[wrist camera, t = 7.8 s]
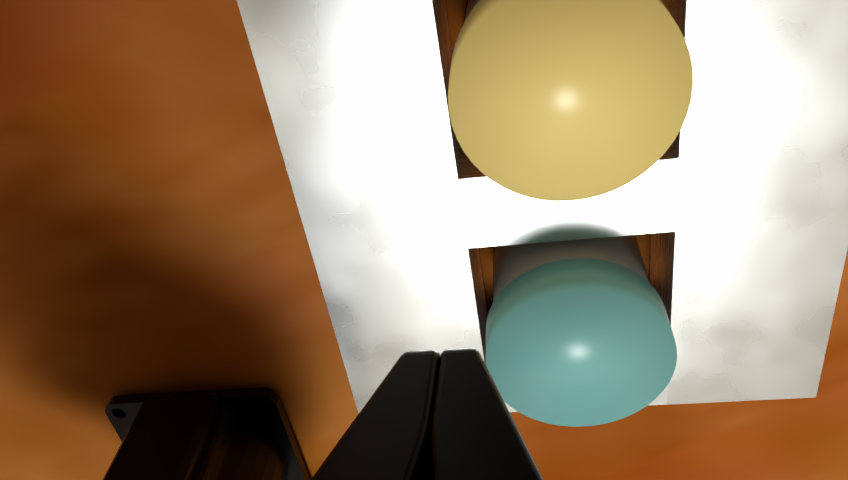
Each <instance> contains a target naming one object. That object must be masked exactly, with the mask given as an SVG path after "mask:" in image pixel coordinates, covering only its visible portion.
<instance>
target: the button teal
mask: <svg viewBox="0 0 848 480" xmlns="http://www.w3.org/2000/svg"><path fill="white" fill-rule="evenodd" d="M676 362H677V347H676V343H675V338H674V335H673V332H672V329H671V325H670V322H669V319H668V315H667V312H666V309H665V306H664V304H663V301H662V299H661V297H660V296H659V294H658V292H657V291H656V290H655V288H654V287H653V286H652V285H651V284H650V283H649V280H648V277H647V273H646V270H645V266H644V263H643V260H642V256H641V253H640V249H639V246H638V242H637V239H636V237H635V235H628V236H616V237H603V238H591V239H579V240H567V241H554V242H542V243H530V244H518V245H505V246H496V247H495V250H494V256H493V304H492V306H491V308H490V310H489V313H488V317H487V322H486V366H487V368H488V370H489V372H490V374H491V376H492V378H493V380H494V382H495V384H496V386H497V388H498V390H499V392H500V394H501V396H502V398H503V400H504V401H505V402H506V403H507V404H508V405H509V406H510V407H512V408H513V409H515V410H516V411H518V412H520V413H522V414H524V415H525V416H527V417H530V418H532V419H535V420H538V421H541V422H545V423H548V424H554V425H560V426H593V425H600V424H605V423H609V422H613V421H616V420H619V419H622V418H625V417H627V416H629V415H632V414H634V413H636V412H638V411H639V410H641V409H642V408H644V407H646V406H647V405H648V404H650V403H651V402H652V401H654V400H655V399H656V398H657V397H658V396H659V395H660V394H661V393H662V392H663V390H664V389H665V388H666V386H667V385H668V384H669V382H670V380H671V378H672V376H673V373H674V371H675V368H676Z"/></svg>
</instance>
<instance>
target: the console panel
mask: <svg viewBox="0 0 848 480" xmlns="http://www.w3.org/2000/svg"><path fill="white" fill-rule="evenodd" d="M661 1H662V2H663V4H664V5H665V7H666V8H667V10H668V11H669V13H670V14H671V16H672V17H673V19H674V21H675V22H676V24H677V25H678V27H679V29H680V31H681V33H682V35H683V37H684V39H685V41H686V44H687V47H688V50H689V53H690V56H691V62H692V69H693V89H692V97H691V102H690V106H689V109H688V113H687V116H686V118H685V121H684V123H683V125H682V128H681V130H680V131H679V133H678V135H677V137H676V138H675V140H674V142H673V143H672V144H671V146H670V147H669V148H668V150H667V151H666V152H665V154H664V155H663V156H662V157H661V158H660V159H659V160H658V161H657V162H656V163H655V164H654V165H653V166H652V167H650V168H649V169H648V170H647V171H646V172H644V173H643V174H642V175H640V176H639V177H637V178H636V179H634V180H633V181H631V182H630V183H628V184H626V185H624V186H622V187H620V188H618V189H616V190H613V191H610V192H608V193H605V194H602V195H599V196H595V197H591V198H587V199H581V200H574V201H549V200H541V199H535V198H530V197H527V196H524V195H520V194H517V193H515V192H512V191H510V190H508V189H506V188H504V187H502V186H500V185H499V184H497V183H495V182H494V181H492V180H491V179H489V178H488V177H487V176H486V175H484V174H483V173H482V172H481V171H480V170H479V169H478V168H477V167H476V166H475V165H474V164H473V163H472V162H471V161H470V159H469V158H468V157H467V155H466V154H465V153H464V151H463V149H462V148H461V146H460V144H459V142H458V140H457V138H456V135H455V133H454V130H453V127H452V124H451V119H450V115H449V107H448V88H449V77H450V69H451V60H452V55H453V54H452V47H451V39H450V32H449V24H448V17H447V10H446V2H445V0H237V3H238V6H239V9H240V13H241V16H242V20H243V23H244V26H245V30H246V33H247V37H248V40H249V43H250V47H251V50H252V53H253V57H254V60H255V64H256V67H257V70H258V74H259V77H260V81H261V84H262V87H263V91H264V94H265V98H266V101H267V104H268V108H269V111H270V115H271V118H272V121H273V125H274V128H275V132H276V135H277V138H278V142H279V145H280V148H281V152H282V155H283V159H284V162H285V165H286V169H287V172H288V176H289V179H290V182H291V186H292V189H293V193H294V196H295V199H296V203H297V206H298V210H299V213H300V216H301V220H302V223H303V226H304V230H305V233H306V237H307V240H308V243H309V247H310V250H311V254H312V257H313V260H314V264H315V267H316V271H317V274H318V277H319V281H320V284H321V288H322V291H323V294H324V298H325V301H326V305H327V308H328V311H329V315H330V318H331V321H332V325H333V328H334V332H335V335H336V338H337V342H338V345H339V349H340V352H341V355H342V359H343V362H344V366H345V369H346V372H347V376H348V379H349V383H350V386H351V389H352V393H353V396H354V400H355V403H356V406H357V410H358V413H360V411H361V410H362V409H363V407H364V406H365V404H366V403H367V402H368V400H369V399H370V398H371V396H372V395H373V393H374V392H375V391H376V389H377V388H378V387H379V385H380V384H381V382H382V381H383V380H384V378H385V377H386V376H387V374H388V373H389V371H390V370H391V369H392V367H393V366H394V364H395V363H396V362H397V360H398V359H399V358H400V356H401V355H402V354H403V353H405V352H407V351H419V350H437V351H438V352H439V353H440V354H442V352H443V351H444V350H445V349H458V348H475V349H477V350H478V351H479V352H480V354H481V356H482V358H483V360H484V362H485V364H486V322H487V317H488V313H487V305H486V298H485V290H484V283H483V276H482V268H481V261H480V253H479V248H481V247H493V246H505V245H518V244H530V243H542V242H554V241H567V240H579V239H591V238H603V237H616V236H628V235H640V234H651V243H650V281H649V283H650V284H651V285H652V286H653V287H654V288H655V290H656V291H657V292H658V294H659V296H660V297H661V299H662V301H663V304H664V306H665V309H666V312H667V315H668V319H669V322H670V325H671V329H672V332H673V335H674V338H675V343H676V347H677V362H676V368H675V371H674V373H673V376H672V378H671V380H670V382H669V384H668V385H667V386H666V388H665V389H664V390H663V392H662V393H661V394H660V395H659V396H658V397H657V398H656V399H655V400H654V401H652V402H651V403H650V404H648V405H667V404H688V403H709V402H730V401H751V400H771V399H792V398H813V397H816V394H817V390H818V385H819V380H820V376H821V371H822V366H823V362H824V357H825V352H826V347H827V343H828V338H829V333H830V329H831V324H832V319H833V315H834V310H835V305H836V300H837V296H838V291H839V286H840V282H841V277H842V272H843V268H844V263H845V258H846V253H847V249H848V0H661ZM504 402H505V401H504ZM505 404H506V406H507V408H508V410H509V412H518V411H516V410H515V409H513V408H512V407H510V406H509V405H508V404H507V403H506V402H505Z"/></svg>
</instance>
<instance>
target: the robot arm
mask: <svg viewBox="0 0 848 480" xmlns="http://www.w3.org/2000/svg"><path fill="white" fill-rule="evenodd" d="M263 401H265V402H263ZM105 412H106V415H107V416H108V418H109V420H110V422H111V423H112V425H113V427H114V429H115V430H116V432H117V434H118V435H119V437H120V439H121V441H122V443H121V445H120V447H119V449H118V451H117V453H116V455H115V457H114V459H113V461H112V463H111V465H110V467H109V469H108V470H107V472H106V474H105V476H104V478H103V480H310V477H309V475H308V472H307V469H306V467H305V464H304V461H303V459H302V456H301V453H300V451H299V448H298V445H297V443H296V440H295V438H294V435H293V432H292V430H291V427H290V424H289V422H288V419H287V416H286V414H285V411H284V408H283V406H282V403H281V400H280V398H279V396H278V394H277V393H276V392H275V391H273V390H271V389H268V388H248V389H230V390H212V391H194V392H176V393H158V394H140V395H122V396H115V397H113V398H111V399H110V401H109V403H108V405H107V407H106V409H105ZM311 480H543V478H542V476H541V474H540V472H539V470H538V468H537V466H536V464H535V462H534V460H533V458H532V456H531V454H530V452H529V450H528V448H527V446H526V444H525V442H524V440H523V438H522V436H521V434H520V432H519V430H518V428H517V426H516V424H515V422H514V420H513V418H512V416H511V414H510V412H509V410H508V408H507V406H506V404H505V402H504V400H503V398H502V396H501V394H500V392H499V390H498V388H497V386H496V384H495V382H494V380H493V378H492V376H491V374H490V372H489V370H488V368H487V366H486V364H485V362H484V360H483V358H482V356H481V354H480V352H479V351H478V350H477V349H475V348H458V349H445V350H444V351H443V352H442V354H440V353H439V352H438V351H437V350H419V351H407V352H405V353H403V354H402V355H401V356H400V358H399V359H398V360H397V362H396V363H395V364H394V366H393V367H392V369H391V370H390V371H389V373H388V374H387V376H386V377H385V378H384V380H383V381H382V382H381V384H380V385H379V387H378V388H377V389H376V391H375V392H374V393H373V395H372V396H371V398H370V399H369V400H368V402H367V403H366V404H365V406H364V407H363V409H362V410H361V411H360V413H359V414H358V416H357V417H356V418H355V420H354V421H353V422H352V424H351V425H350V427H349V428H348V429H347V431H346V432H345V433H344V435H343V436H342V438H341V439H340V440H339V442H338V443H337V444H336V446H335V447H334V449H333V450H332V451H331V453H330V454H329V456H328V457H327V458H326V460H325V461H324V462H323V464H322V465H321V467H320V468H319V469H318V471H317V472H316V473H315V475H314V476H313V478H312V479H311Z"/></svg>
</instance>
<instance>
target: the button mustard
mask: <svg viewBox="0 0 848 480" xmlns="http://www.w3.org/2000/svg"><path fill="white" fill-rule="evenodd" d="M692 89H693V69H692V62H691V56H690V53H689V50H688V47H687V44H686V41H685V39H684V37H683V35H682V33H681V31H680V29H679V27H678V25H677V24H676V22H675V21H674V19H673V17H672V16H671V14H670V13H669V11H668V10H667V8H666V7H665V5H664V4H663V2H662V1H661V0H469V1H468V4H467V9H466V13H465V22H464V24H463V26H462V28H461V30H460V32H459V34H458V37H457V40H456V43H455V46H454V50H453V55H452V60H451V69H450V77H449V88H448V107H449V115H450V119H451V124H452V127H453V130H454V133H455V135H456V138H457V140H458V142H459V144H460V146H461V148H462V149H463V151H464V153H465V154H466V155H467V157H468V158H469V159H470V161H471V162H472V163H473V164H474V165H475V166H476V167H477V168H478V169H479V170H480V171H481V172H482V173H483V174H484V175H486V176H487V177H488V178H489V179H491V180H492V181H494V182H495V183H497V184H499V185H500V186H502V187H504V188H506V189H508V190H510V191H512V192H515V193H517V194H520V195H524V196H527V197H530V198H535V199H541V200H549V201H574V200H581V199H587V198H591V197H595V196H599V195H602V194H605V193H608V192H610V191H613V190H616V189H618V188H620V187H622V186H624V185H626V184H628V183H630V182H631V181H633V180H634V179H636V178H637V177H639V176H640V175H642V174H643V173H644V172H646V171H647V170H648V169H649V168H650V167H652V166H653V165H654V164H655V163H656V162H657V161H658V160H659V159H660V158H661V157H662V156H663V155H664V154H665V152H666V151H667V150H668V148H669V147H670V146H671V144H672V143H673V142H674V140H675V138H676V137H677V135H678V133H679V131H680V130H681V128H682V125H683V123H684V121H685V118H686V116H687V113H688V109H689V106H690V102H691V97H692Z"/></svg>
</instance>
